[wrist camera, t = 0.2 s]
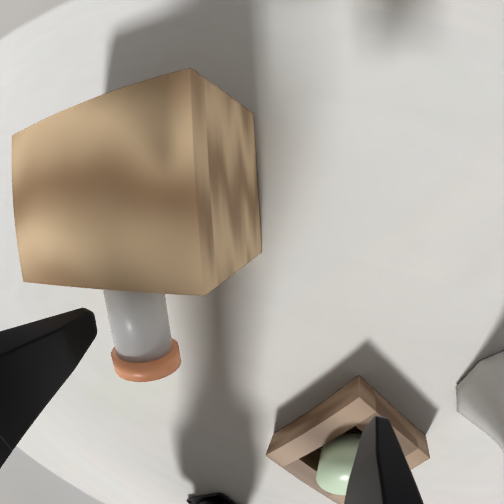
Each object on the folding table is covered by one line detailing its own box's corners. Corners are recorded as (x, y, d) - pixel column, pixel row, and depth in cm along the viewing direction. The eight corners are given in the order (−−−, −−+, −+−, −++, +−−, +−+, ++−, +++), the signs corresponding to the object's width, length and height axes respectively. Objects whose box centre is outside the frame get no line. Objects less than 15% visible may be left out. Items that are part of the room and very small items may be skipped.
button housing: (342, 483, 26) (339, 505, 23) (273, 433, 26) (265, 455, 24) (425, 436, 22) (429, 458, 20) (358, 375, 23) (359, 396, 20)
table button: (345, 477, 23) (342, 501, 20) (308, 451, 23) (303, 476, 21) (390, 452, 21) (391, 477, 19) (354, 424, 22) (353, 449, 19)
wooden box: (261, 252, 23) (204, 295, 14) (109, 253, 27) (23, 281, 18) (253, 113, 22) (190, 68, 12) (101, 143, 26) (12, 135, 16)
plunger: (192, 353, 23) (159, 387, 18) (138, 345, 24) (101, 373, 19) (178, 240, 21) (136, 255, 17) (122, 242, 22) (76, 255, 18)
